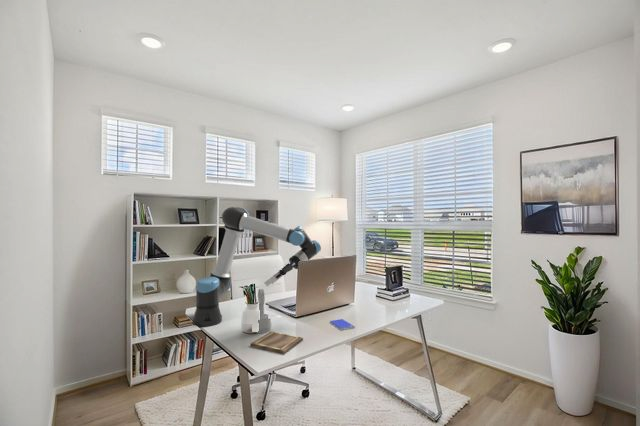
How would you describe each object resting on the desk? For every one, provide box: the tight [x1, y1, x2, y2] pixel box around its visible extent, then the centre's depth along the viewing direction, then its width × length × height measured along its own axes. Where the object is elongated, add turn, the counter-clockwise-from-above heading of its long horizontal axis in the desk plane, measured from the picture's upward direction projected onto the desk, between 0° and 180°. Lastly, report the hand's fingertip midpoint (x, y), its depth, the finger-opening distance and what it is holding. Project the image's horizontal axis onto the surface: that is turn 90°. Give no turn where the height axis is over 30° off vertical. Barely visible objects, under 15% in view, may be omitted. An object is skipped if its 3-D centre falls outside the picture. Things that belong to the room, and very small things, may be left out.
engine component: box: [257, 288, 272, 334], centre depth 158 cm, size 11×20×10 cm
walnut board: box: [249, 331, 304, 355], centre depth 140 cm, size 18×16×1 cm
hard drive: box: [329, 318, 356, 331], centre depth 164 cm, size 2×8×12 cm
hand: (268, 283), depth 164 cm, fingers open, 13 cm apart
